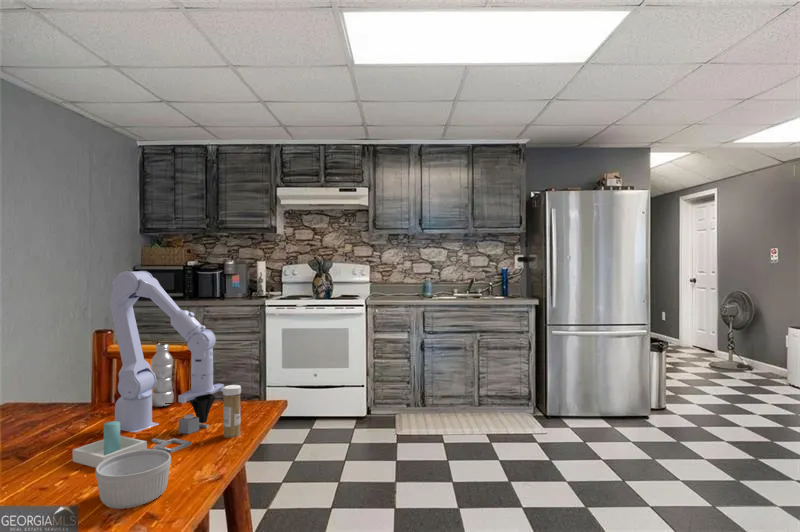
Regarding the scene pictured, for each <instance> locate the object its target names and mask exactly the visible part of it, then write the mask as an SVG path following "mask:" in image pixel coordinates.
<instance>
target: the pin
mask: <svg viewBox="0 0 800 532" xmlns="http://www.w3.org/2000/svg"><path fill="white" fill-rule="evenodd" d="M120 436H121V430H120V422H119V421H115V420H113V421H107V422H104V423H103V439H104V455H107V454H110V453H113V452H116V451H118V450H120Z"/></svg>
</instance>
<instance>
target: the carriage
mask: <svg viewBox="0 0 800 532" xmlns="http://www.w3.org/2000/svg"><path fill="white" fill-rule="evenodd" d="M194 415H195V414H194V413H193V414H192V413H189V414H185V415H183V416H184V417H181V418H179V419H178V433H179V434H184V435H185V434H186V435H191V434H192V433H194V432H195V433H197V432H199V431H200V430H199V428H200V427H199V417H196V416H194Z"/></svg>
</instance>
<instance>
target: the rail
mask: <svg viewBox="0 0 800 532" xmlns="http://www.w3.org/2000/svg"><path fill="white" fill-rule="evenodd" d="M209 427H210V425H209V424H207V423H199V430H198V431H201V430H205V429H208V428H209ZM193 433H196V432H193ZM193 433H191V435H192V434H193ZM187 436H188V434H185V433H184V434H180V432H177V437H178V439H180V440H181V437H183V438H185V437H187ZM173 437H175V434H171V435H170V438H173ZM166 441H167V437H164V439H162V438H155V437H154V438H151V443H155V444H160V443H163V442H166Z"/></svg>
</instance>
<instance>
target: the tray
mask: <svg viewBox="0 0 800 532" xmlns="http://www.w3.org/2000/svg"><path fill="white" fill-rule="evenodd" d="M142 449H148V441H147V440H143V439H138V438H134V437H128V436H125V435H120V450H118V451H116V452H113V453H110V454H107V455H104V438H103V439H101V440H98V441H94V442H92V443H87V444H85V445H82V446H79V447H76V448H73V449H72V462H74V463H77V464H80V465H85V466H87V467H90V468H95V469H96V467H97V466H98V465H99V464H100V463H101V462H103V461H104V460H106V459H108V458H110V457H113V456H116V455H119V454H122V453H126V452H131V451H137V450H142Z"/></svg>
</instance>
